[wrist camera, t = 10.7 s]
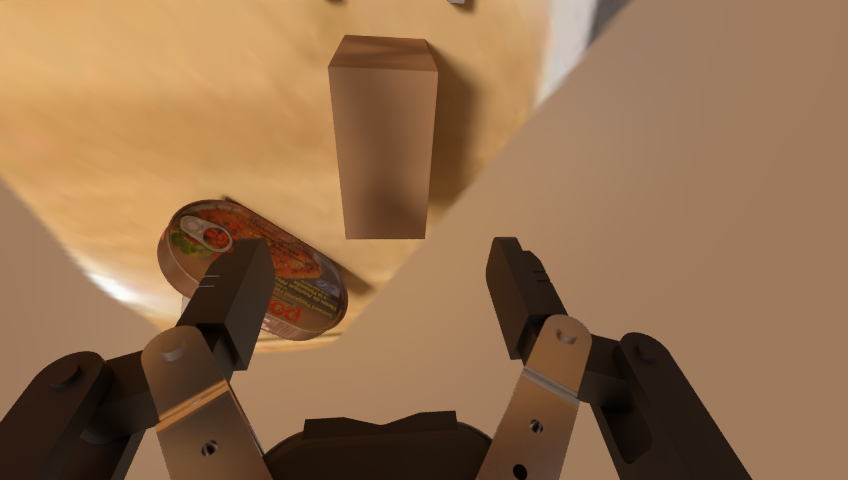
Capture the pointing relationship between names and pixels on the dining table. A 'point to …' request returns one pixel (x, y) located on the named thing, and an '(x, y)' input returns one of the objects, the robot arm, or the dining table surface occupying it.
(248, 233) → the tin
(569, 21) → the dining table surface
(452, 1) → the channel
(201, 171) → the dining table surface
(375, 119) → the block
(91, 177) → the dining table surface
